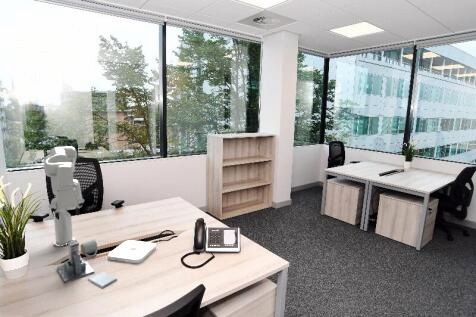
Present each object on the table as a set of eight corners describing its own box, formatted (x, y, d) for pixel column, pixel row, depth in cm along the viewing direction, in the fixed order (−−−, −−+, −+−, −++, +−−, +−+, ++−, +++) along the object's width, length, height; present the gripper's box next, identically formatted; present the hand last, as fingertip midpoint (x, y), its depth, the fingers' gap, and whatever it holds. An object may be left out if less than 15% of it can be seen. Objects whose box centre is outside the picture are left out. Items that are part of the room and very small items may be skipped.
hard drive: (117, 278, 144) (102, 271, 150) (102, 286, 137) (87, 278, 143) (117, 281, 144) (102, 273, 150) (102, 289, 137) (88, 281, 143)
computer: (139, 264, 160) (139, 260, 160) (105, 259, 165) (105, 255, 164) (157, 247, 182) (157, 243, 181) (127, 243, 186) (127, 239, 185)
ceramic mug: (80, 252, 171) (79, 241, 170) (94, 248, 177) (93, 237, 175) (85, 259, 163) (84, 247, 162) (100, 255, 169) (99, 243, 168)
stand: (56, 268, 153) (54, 248, 151) (84, 260, 163) (83, 240, 161) (64, 283, 140) (62, 261, 139) (94, 272, 150) (93, 252, 148)
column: (69, 267, 152) (67, 241, 150) (77, 265, 155) (75, 239, 153) (72, 272, 148) (70, 245, 146) (80, 269, 151) (78, 243, 148)
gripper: (81, 183, 161) (82, 211, 164) (45, 188, 149) (48, 218, 152) (85, 186, 156) (86, 215, 158) (48, 191, 143) (51, 222, 146)
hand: (67, 216), depth 155 cm, fingers open, 9 cm apart
